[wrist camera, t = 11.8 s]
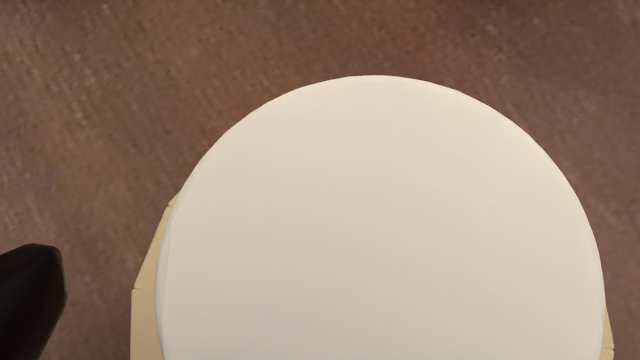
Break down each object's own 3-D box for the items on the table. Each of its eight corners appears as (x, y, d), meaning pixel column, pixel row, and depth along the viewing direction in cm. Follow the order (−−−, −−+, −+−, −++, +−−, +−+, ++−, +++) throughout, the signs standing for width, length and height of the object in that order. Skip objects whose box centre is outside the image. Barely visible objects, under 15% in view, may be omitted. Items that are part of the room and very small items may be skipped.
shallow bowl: (578, 518, 16) (663, 576, 12) (185, 544, 16) (124, 610, 12) (514, 145, 19) (561, 81, 15) (183, 172, 19) (134, 118, 15)
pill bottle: (433, 494, 15) (606, 778, 5) (213, 403, 16) (-38, 477, 6) (501, 265, 17) (741, 109, 6) (297, 194, 18) (215, -45, 7)
